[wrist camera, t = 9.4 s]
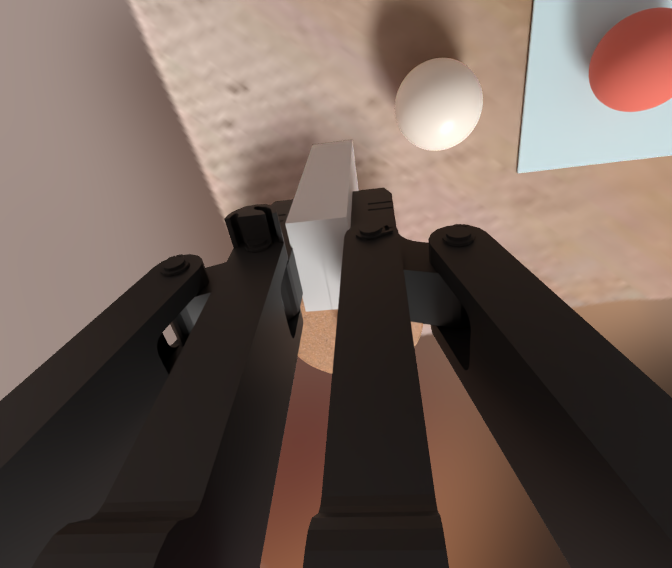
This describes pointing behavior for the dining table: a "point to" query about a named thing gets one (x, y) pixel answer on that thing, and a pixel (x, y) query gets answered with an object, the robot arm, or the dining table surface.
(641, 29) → the red ball
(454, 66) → the cue ball
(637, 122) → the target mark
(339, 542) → the robot arm
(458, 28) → the dining table surface
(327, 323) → the lidded jar
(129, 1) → the dining table surface
